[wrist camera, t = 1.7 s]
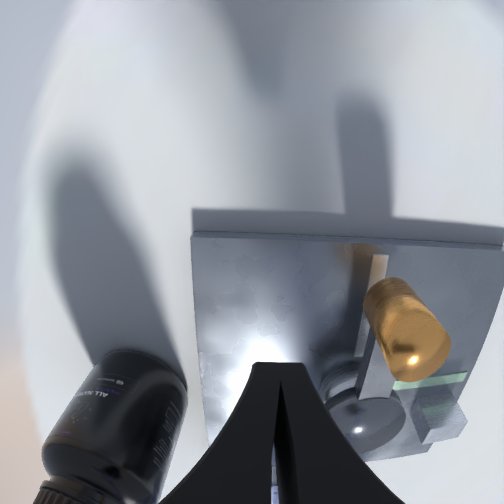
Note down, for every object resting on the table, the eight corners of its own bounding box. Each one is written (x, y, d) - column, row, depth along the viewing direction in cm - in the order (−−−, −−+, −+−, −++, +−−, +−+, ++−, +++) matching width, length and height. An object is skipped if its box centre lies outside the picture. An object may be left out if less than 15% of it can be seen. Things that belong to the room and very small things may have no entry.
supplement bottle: (113, 326, 18) (10, 480, 7) (207, 382, 19) (166, 557, 8) (87, 385, 20) (15, 507, 9) (166, 429, 21) (124, 563, 10)
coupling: (385, 432, 16) (399, 482, 13) (310, 437, 17) (314, 492, 13) (439, 277, 13) (483, 323, 9) (340, 275, 13) (364, 329, 9)
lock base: (424, 443, 21) (436, 478, 17) (212, 452, 22) (205, 492, 18) (503, 245, 15) (543, 271, 11) (195, 231, 16) (172, 260, 12)
